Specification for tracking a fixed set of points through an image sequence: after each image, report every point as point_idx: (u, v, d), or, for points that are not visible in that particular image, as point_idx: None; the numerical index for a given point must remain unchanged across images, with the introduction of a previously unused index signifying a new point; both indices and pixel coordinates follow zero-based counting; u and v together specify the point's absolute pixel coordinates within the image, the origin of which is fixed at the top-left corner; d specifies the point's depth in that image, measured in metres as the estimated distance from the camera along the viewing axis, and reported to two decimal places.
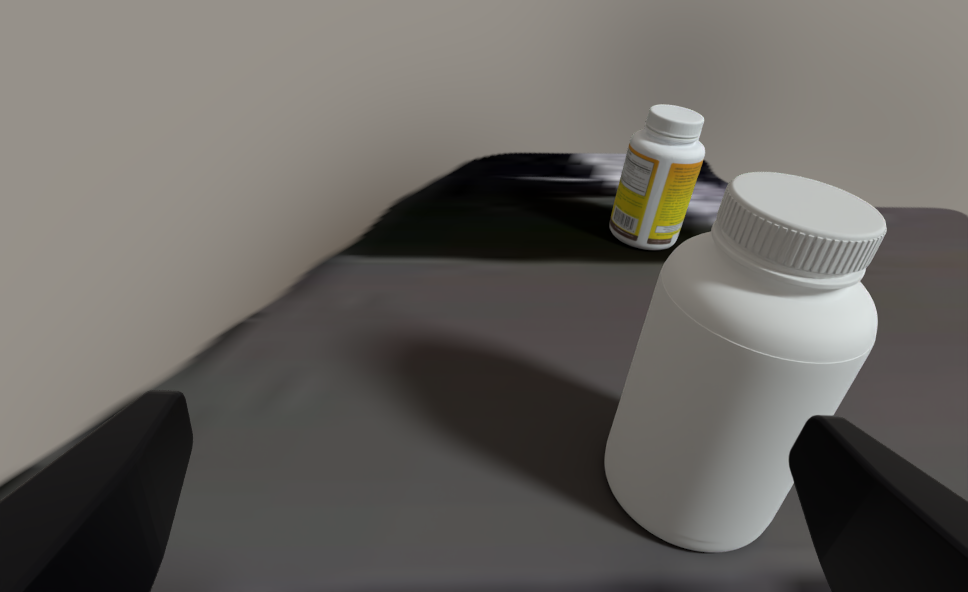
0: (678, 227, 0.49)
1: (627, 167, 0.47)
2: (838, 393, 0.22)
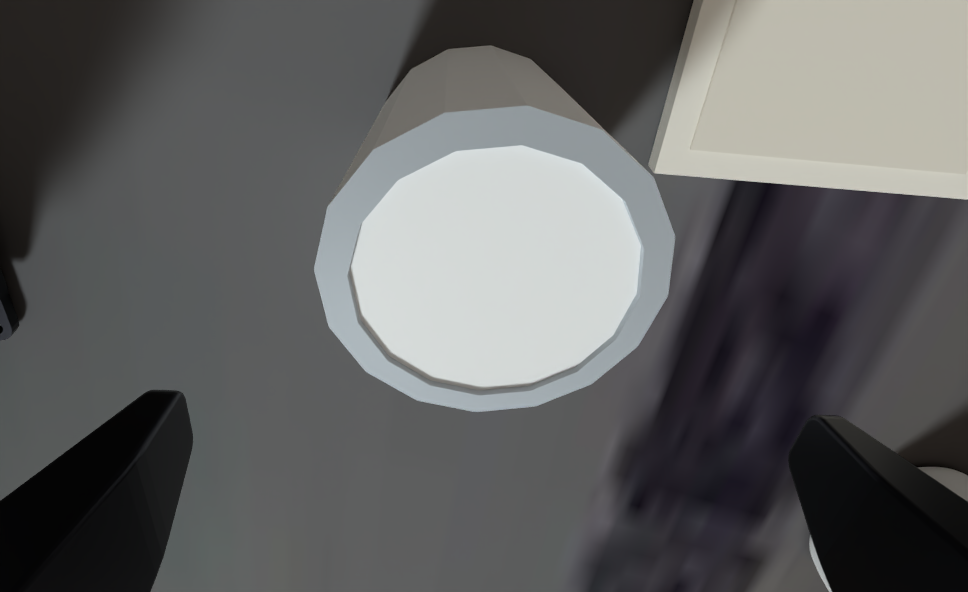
0: None
1: None
2: None
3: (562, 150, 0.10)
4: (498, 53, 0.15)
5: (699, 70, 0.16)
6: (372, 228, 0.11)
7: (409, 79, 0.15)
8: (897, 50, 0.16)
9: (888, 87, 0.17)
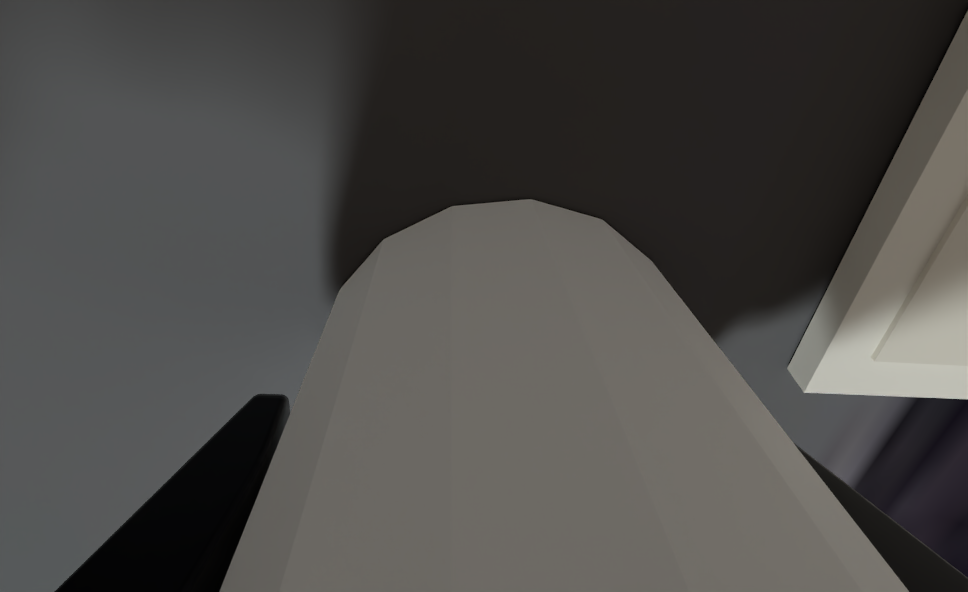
0: None
1: None
2: None
3: None
4: (551, 234, 0.08)
5: (913, 242, 0.09)
6: None
7: (375, 291, 0.07)
8: None
9: None
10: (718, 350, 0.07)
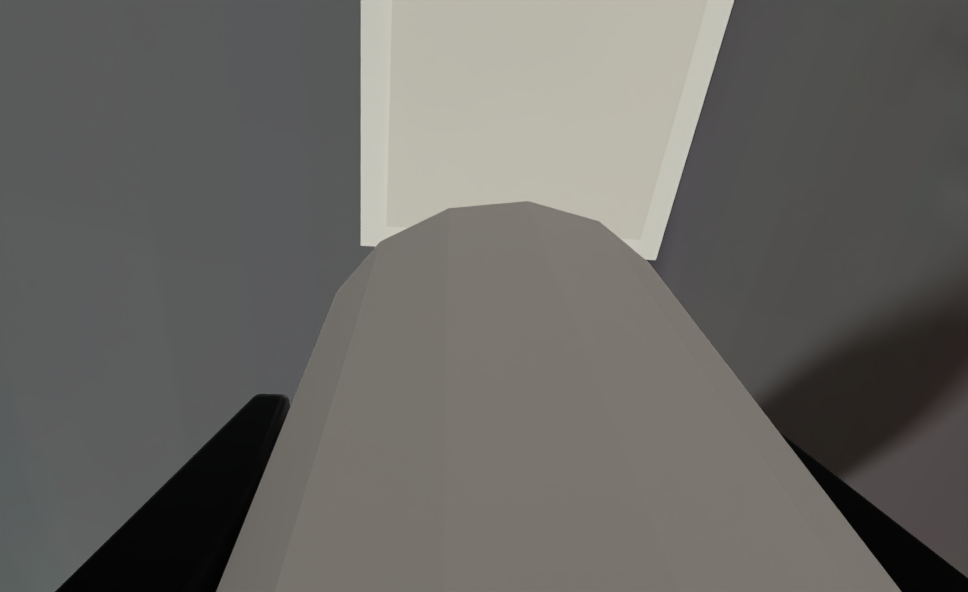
0: None
1: None
2: None
3: None
4: (548, 237, 0.08)
5: (375, 162, 0.19)
6: None
7: (372, 294, 0.07)
8: (546, 142, 0.19)
9: (546, 172, 0.19)
10: (715, 353, 0.07)
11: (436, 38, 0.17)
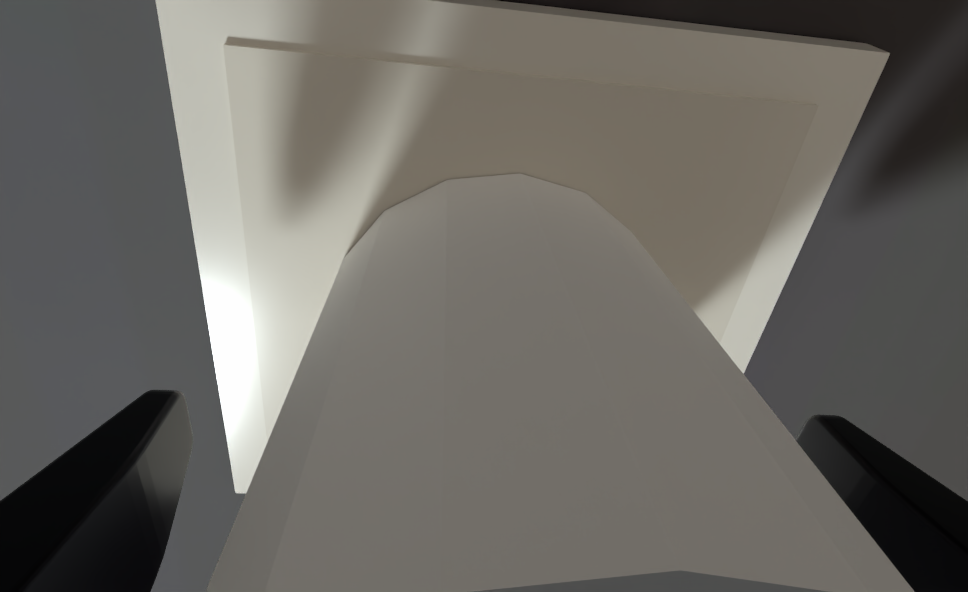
0: None
1: None
2: None
3: None
4: (537, 203, 0.08)
5: (242, 394, 0.12)
6: None
7: (377, 253, 0.08)
8: None
9: None
10: (687, 306, 0.08)
11: (323, 230, 0.10)
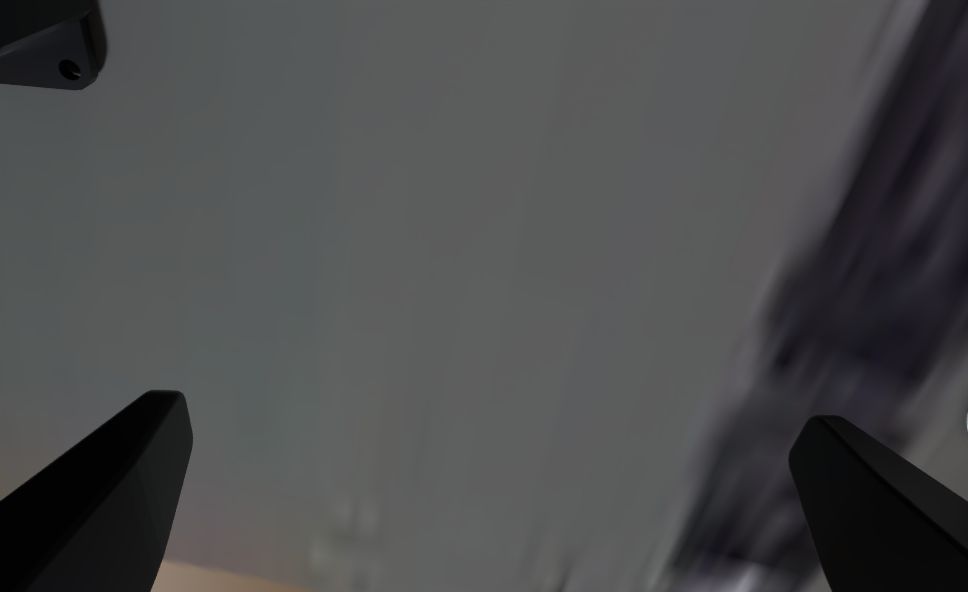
0: None
1: None
2: None
3: None
4: None
5: None
6: None
7: None
8: None
9: None
10: None
11: None
